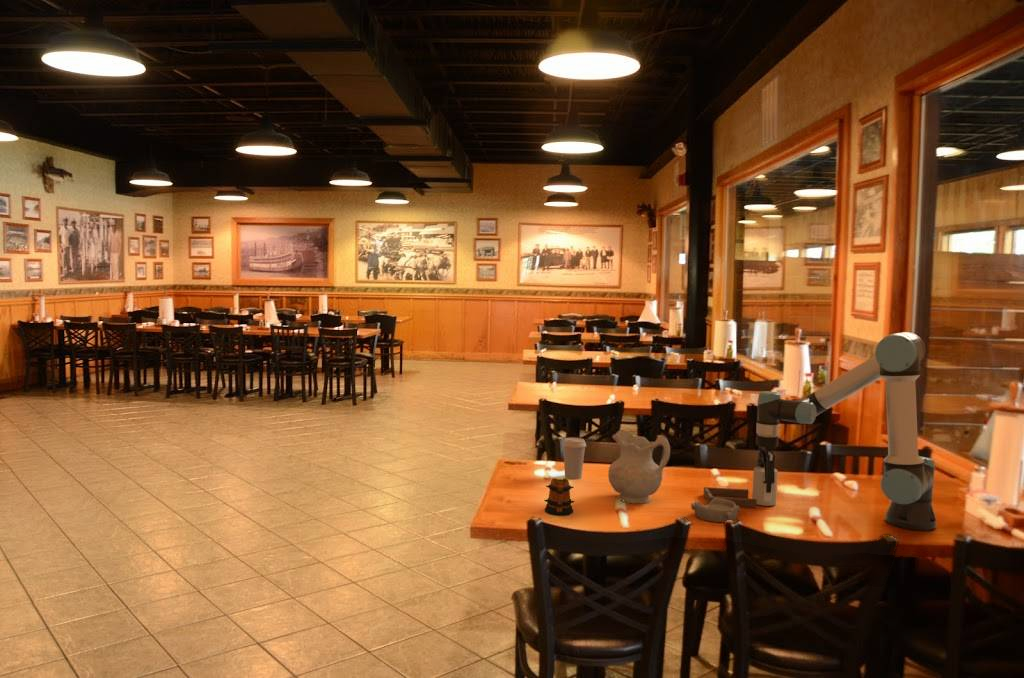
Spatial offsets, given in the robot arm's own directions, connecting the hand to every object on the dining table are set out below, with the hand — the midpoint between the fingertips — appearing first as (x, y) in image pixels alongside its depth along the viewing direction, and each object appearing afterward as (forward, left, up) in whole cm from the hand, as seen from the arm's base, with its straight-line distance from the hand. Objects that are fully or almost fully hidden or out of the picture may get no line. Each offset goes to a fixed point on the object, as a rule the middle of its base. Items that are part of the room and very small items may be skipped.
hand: (764, 497), depth 279 cm
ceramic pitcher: (-3, +45, -2) cm, 45 cm away
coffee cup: (+23, +68, -2) cm, 72 cm away
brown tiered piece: (-23, +73, -2) cm, 77 cm away
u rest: (0, +12, -2) cm, 12 cm away
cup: (0, 0, -2) cm, 2 cm away
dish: (-19, +20, -3) cm, 28 cm away
